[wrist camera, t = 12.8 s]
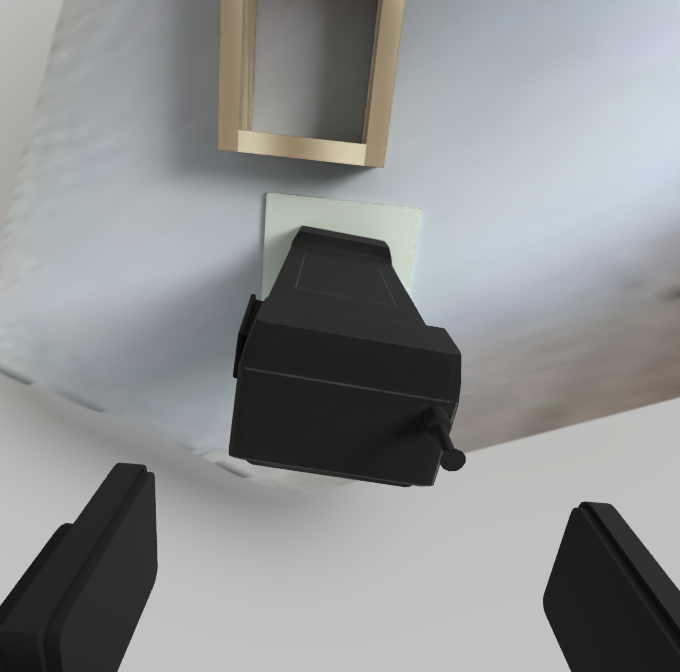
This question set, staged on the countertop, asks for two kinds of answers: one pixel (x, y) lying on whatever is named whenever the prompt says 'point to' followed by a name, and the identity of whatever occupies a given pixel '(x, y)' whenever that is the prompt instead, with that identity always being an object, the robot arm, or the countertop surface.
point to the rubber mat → (337, 229)
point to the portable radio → (344, 370)
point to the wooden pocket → (239, 137)
